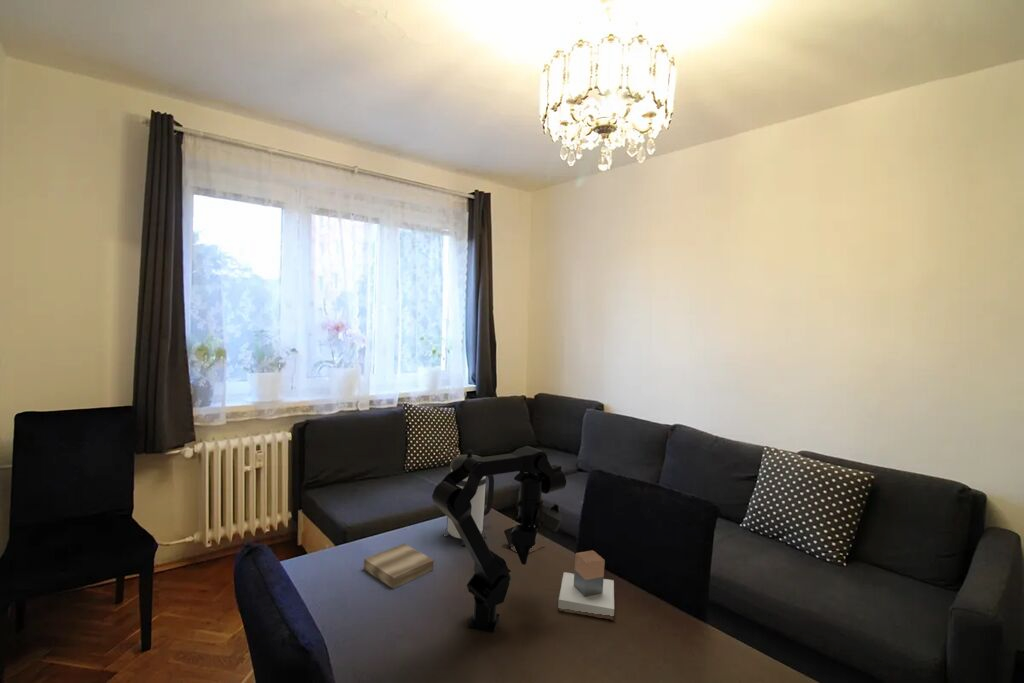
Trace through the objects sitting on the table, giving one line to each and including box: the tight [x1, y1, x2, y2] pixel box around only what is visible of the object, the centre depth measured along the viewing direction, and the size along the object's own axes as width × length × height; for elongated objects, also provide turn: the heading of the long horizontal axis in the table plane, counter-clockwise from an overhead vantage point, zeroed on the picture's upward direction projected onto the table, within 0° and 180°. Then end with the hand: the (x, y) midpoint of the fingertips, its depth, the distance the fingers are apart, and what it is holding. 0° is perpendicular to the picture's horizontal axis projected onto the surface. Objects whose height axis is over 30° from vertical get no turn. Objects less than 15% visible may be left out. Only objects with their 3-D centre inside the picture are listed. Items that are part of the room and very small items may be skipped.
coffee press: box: [442, 448, 495, 546], centre depth 160 cm, size 17×16×30 cm
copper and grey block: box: [573, 549, 606, 597], centre depth 126 cm, size 6×6×9 cm
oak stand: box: [363, 543, 435, 589], centre depth 136 cm, size 14×14×3 cm
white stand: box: [557, 571, 615, 617], centre depth 126 cm, size 14×14×3 cm
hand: (526, 555), depth 122 cm, fingers open, 9 cm apart
